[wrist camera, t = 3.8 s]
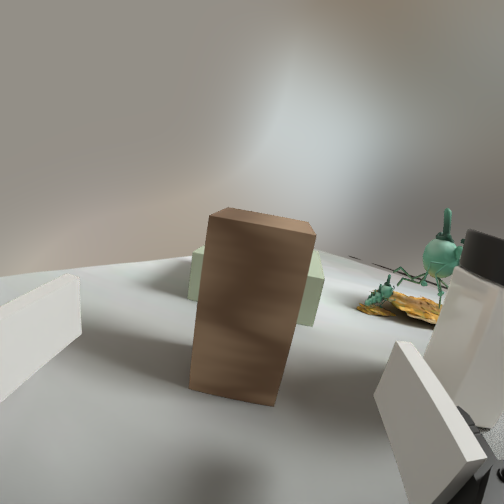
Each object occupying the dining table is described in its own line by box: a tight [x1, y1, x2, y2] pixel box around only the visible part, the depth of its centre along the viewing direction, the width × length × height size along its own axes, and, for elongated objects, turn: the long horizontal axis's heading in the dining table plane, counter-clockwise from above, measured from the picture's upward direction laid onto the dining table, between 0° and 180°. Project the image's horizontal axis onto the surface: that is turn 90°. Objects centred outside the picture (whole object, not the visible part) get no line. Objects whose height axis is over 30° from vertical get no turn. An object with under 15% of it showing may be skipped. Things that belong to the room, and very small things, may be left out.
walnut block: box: [189, 207, 316, 407], centre depth 18 cm, size 5×5×10 cm
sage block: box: [187, 245, 325, 327], centre depth 34 cm, size 12×12×5 cm
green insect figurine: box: [357, 208, 465, 324], centre depth 34 cm, size 10×18×15 cm, turn 81°
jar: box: [423, 229, 504, 428], centre depth 17 cm, size 9×8×12 cm
